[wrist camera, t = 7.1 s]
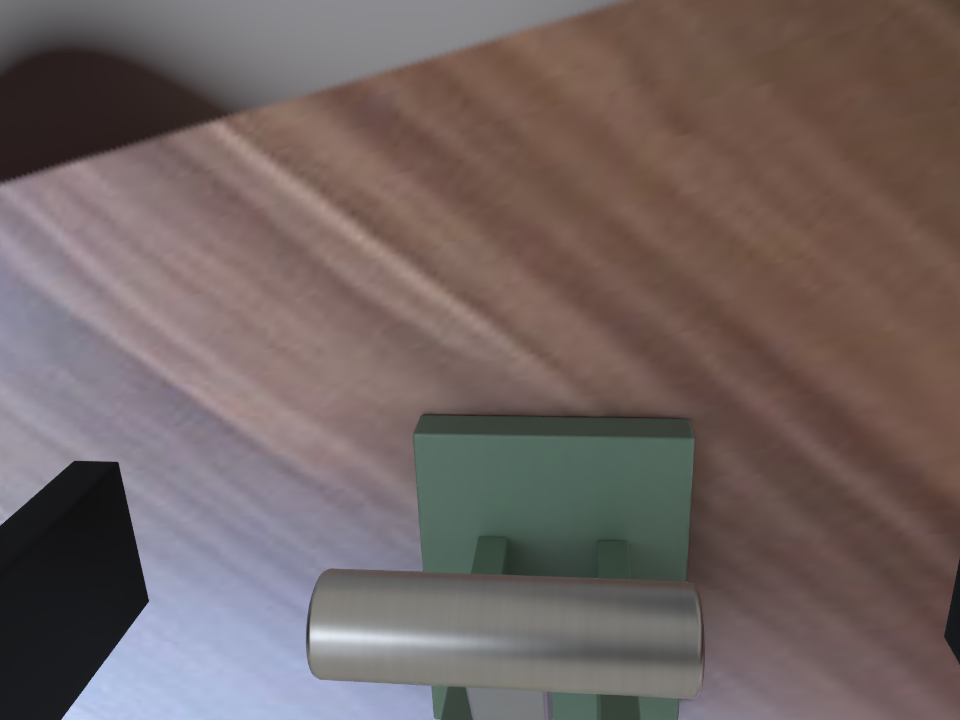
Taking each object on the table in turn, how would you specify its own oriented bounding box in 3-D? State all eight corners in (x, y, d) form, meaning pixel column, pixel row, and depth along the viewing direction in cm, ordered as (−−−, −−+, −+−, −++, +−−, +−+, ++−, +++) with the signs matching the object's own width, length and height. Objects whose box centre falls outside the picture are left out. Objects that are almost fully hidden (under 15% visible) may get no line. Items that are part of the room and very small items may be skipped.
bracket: (420, 413, 29) (293, 718, 17) (690, 417, 28) (775, 746, 16) (439, 691, 34) (351, 1099, 21) (673, 703, 33) (729, 1141, 20)
